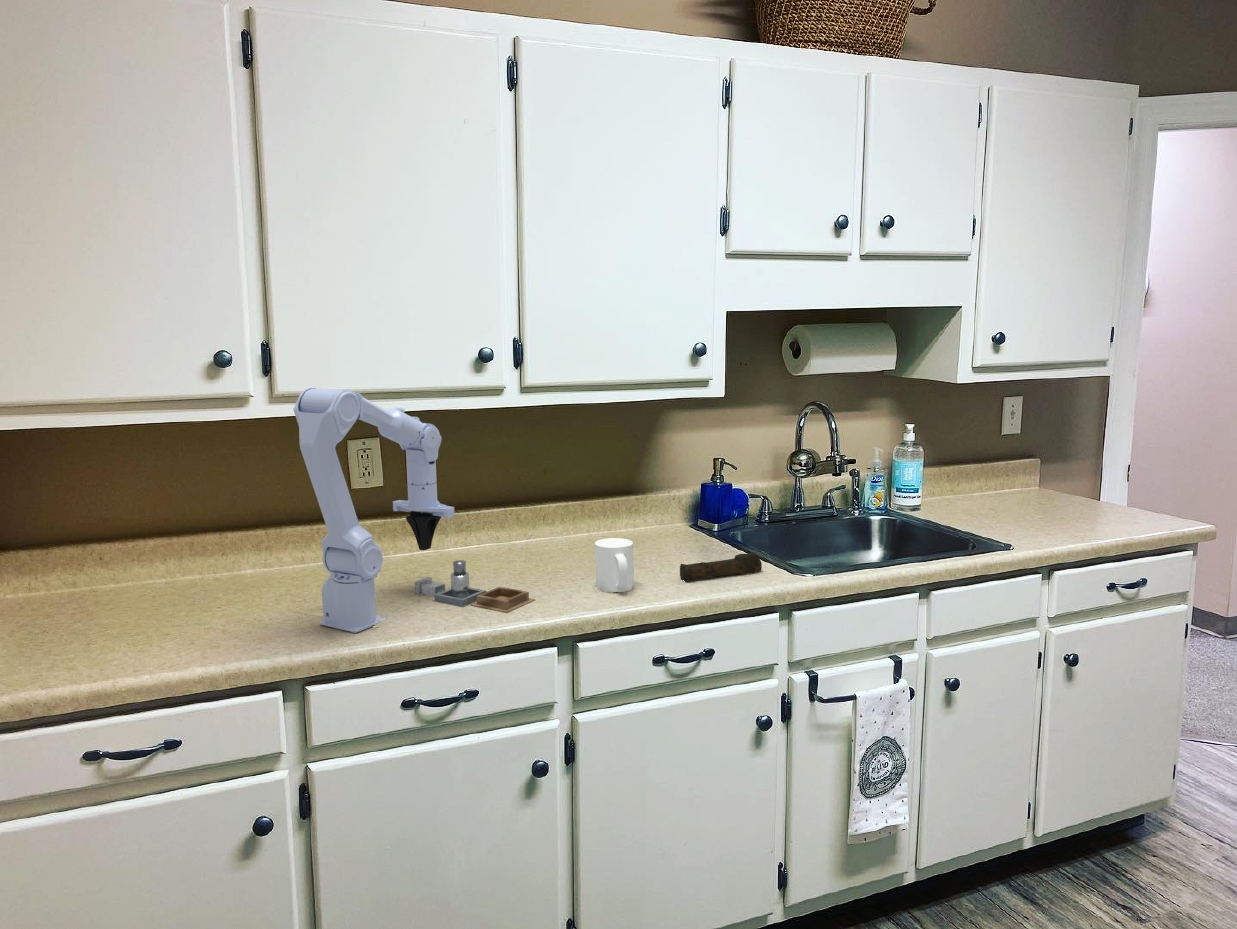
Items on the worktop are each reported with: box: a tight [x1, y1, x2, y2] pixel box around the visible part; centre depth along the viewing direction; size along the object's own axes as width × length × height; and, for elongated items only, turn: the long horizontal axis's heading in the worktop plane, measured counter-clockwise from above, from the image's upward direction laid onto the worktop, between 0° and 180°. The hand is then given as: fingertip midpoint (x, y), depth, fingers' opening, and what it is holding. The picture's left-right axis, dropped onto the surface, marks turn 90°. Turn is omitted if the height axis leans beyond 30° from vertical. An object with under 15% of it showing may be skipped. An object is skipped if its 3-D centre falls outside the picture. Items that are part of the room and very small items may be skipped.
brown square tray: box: [469, 586, 536, 614], centre depth 187 cm, size 9×9×2 cm
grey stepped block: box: [414, 576, 446, 598], centre depth 193 cm, size 5×4×3 cm
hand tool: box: [679, 552, 763, 583], centre depth 205 cm, size 19×4×5 cm, turn 109°
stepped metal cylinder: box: [450, 559, 471, 599], centre depth 189 cm, size 4×4×8 cm
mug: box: [594, 537, 635, 593], centre depth 197 cm, size 12×9×8 cm
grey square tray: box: [432, 587, 487, 608], centre depth 190 cm, size 8×8×2 cm
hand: (425, 549), depth 193 cm, fingers closed
